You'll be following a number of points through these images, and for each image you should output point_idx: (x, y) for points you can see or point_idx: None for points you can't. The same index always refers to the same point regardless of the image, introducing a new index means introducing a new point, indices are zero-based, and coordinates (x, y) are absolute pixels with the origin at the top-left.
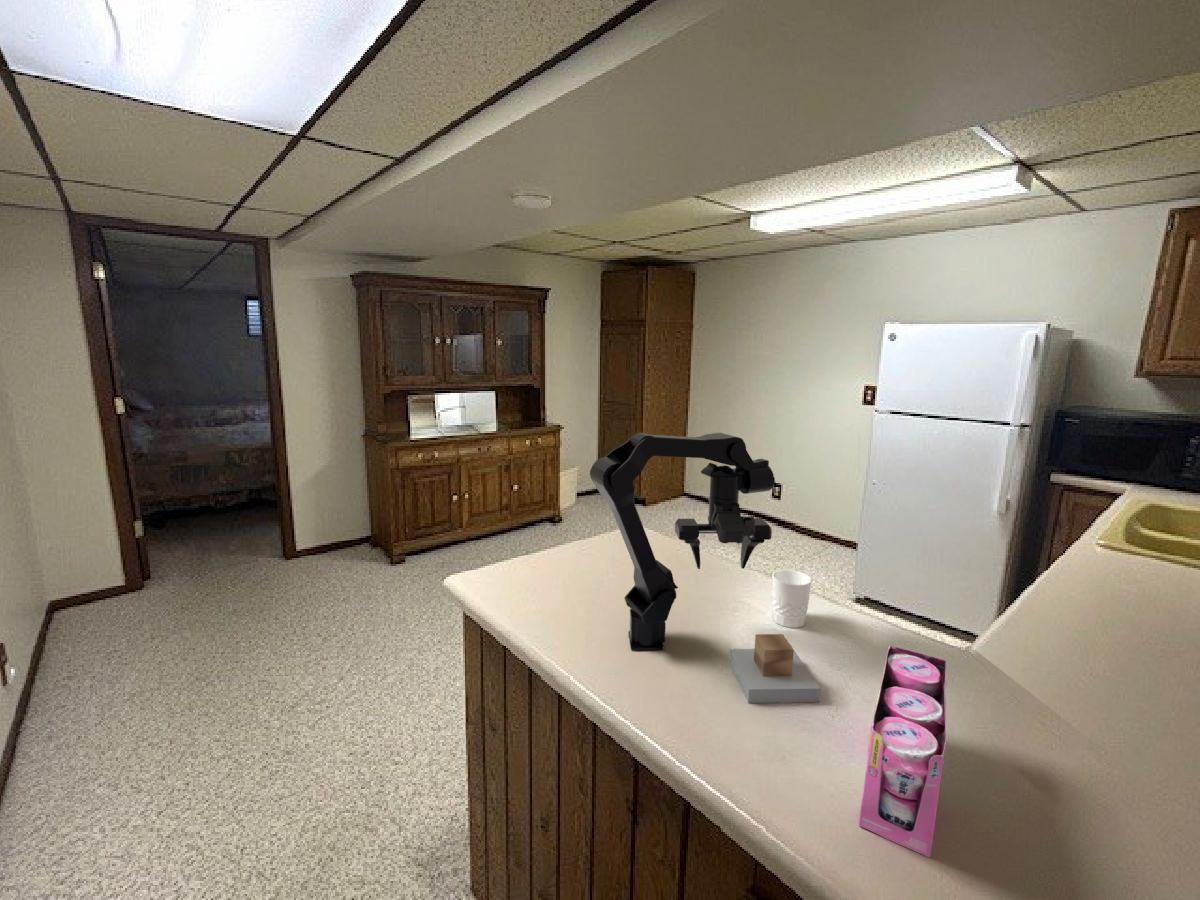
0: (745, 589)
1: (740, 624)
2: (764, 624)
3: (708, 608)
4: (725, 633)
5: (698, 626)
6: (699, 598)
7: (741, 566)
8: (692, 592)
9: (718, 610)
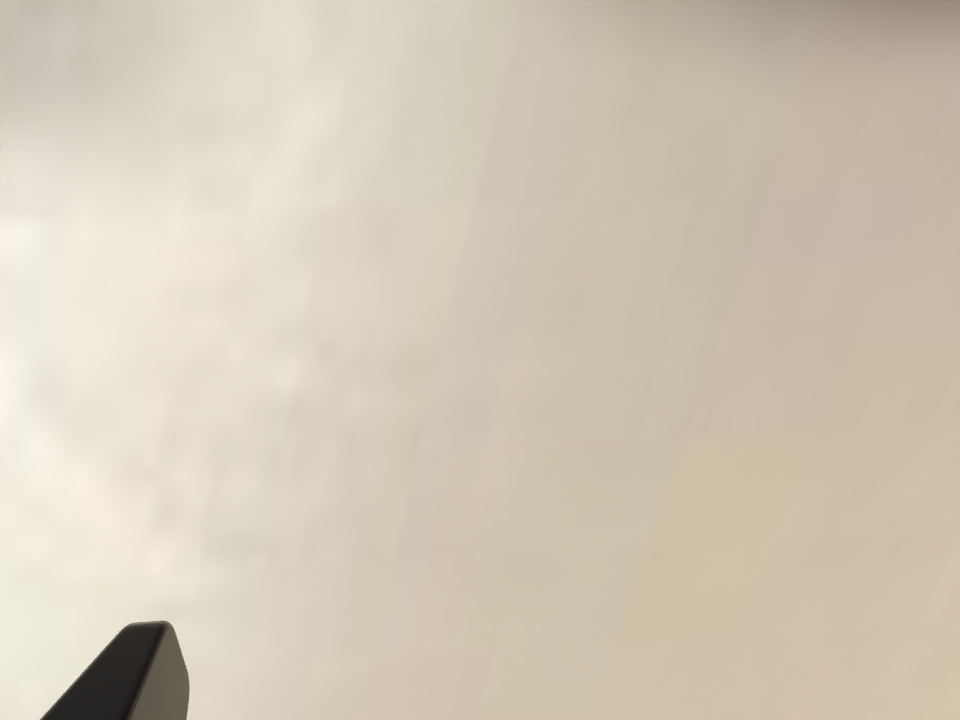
0: None
1: (281, 199)
2: (47, 207)
3: (517, 439)
4: (458, 24)
5: (687, 148)
6: (552, 568)
7: (175, 677)
8: (584, 637)
9: (439, 414)
